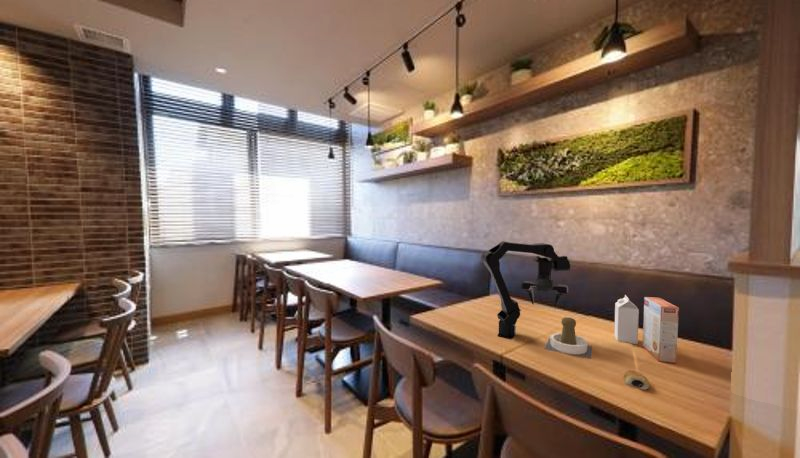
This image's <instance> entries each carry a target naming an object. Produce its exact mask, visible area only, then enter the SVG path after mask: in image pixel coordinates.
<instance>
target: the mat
mask: <svg viewBox="0 0 800 458" xmlns="http://www.w3.org/2000/svg"><path fill="white" fill-rule="evenodd" d="M550 338H551V337H550ZM550 338H548V340H547V341H546V342H547V343H546V344H545V347H544V350H546V351H551V352H556V353H560V354H561V353H562V352H559V351H557V350H555V349H553V348H552V347H551V343H550ZM592 348H593V346H592V345H588V344H587V352H586V353H585V354H581V355H574V356H575V357H582V358H586V359H592V351H593V349H592ZM562 354H563V353H562ZM564 354H566V353H564ZM566 355H567V354H566ZM569 355H570V356H573V355H572V354H569Z"/></svg>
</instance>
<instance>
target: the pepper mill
mask: <svg viewBox="0 0 800 458" xmlns="http://www.w3.org/2000/svg"><path fill="white" fill-rule="evenodd" d="M561 325H562V329H561V333H562V335H561V341H560V342H561V343H564V344H569V345H577V343H576V329H575V327H576V326H577V321H576V320H575V319H574V318H573V317H567V316H566V317H563V318H562V319H561Z"/></svg>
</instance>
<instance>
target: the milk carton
mask: <svg viewBox="0 0 800 458" xmlns="http://www.w3.org/2000/svg"><path fill="white" fill-rule="evenodd" d="M614 305H615V306H614V338H615V339H616V341H617V342H623V343H629V344H630V345H631V344H632V345H638V343H639V342H638V341H639V339H638V338H639V313H640V312H639V311H640V310H639V308H638V307H637V305H636V304H634V303H633V302H632V301H631V300H630V298H629V297H628V296H627V295H626V294H624V297H623V298H619V299H617V302H615V303H614Z"/></svg>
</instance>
